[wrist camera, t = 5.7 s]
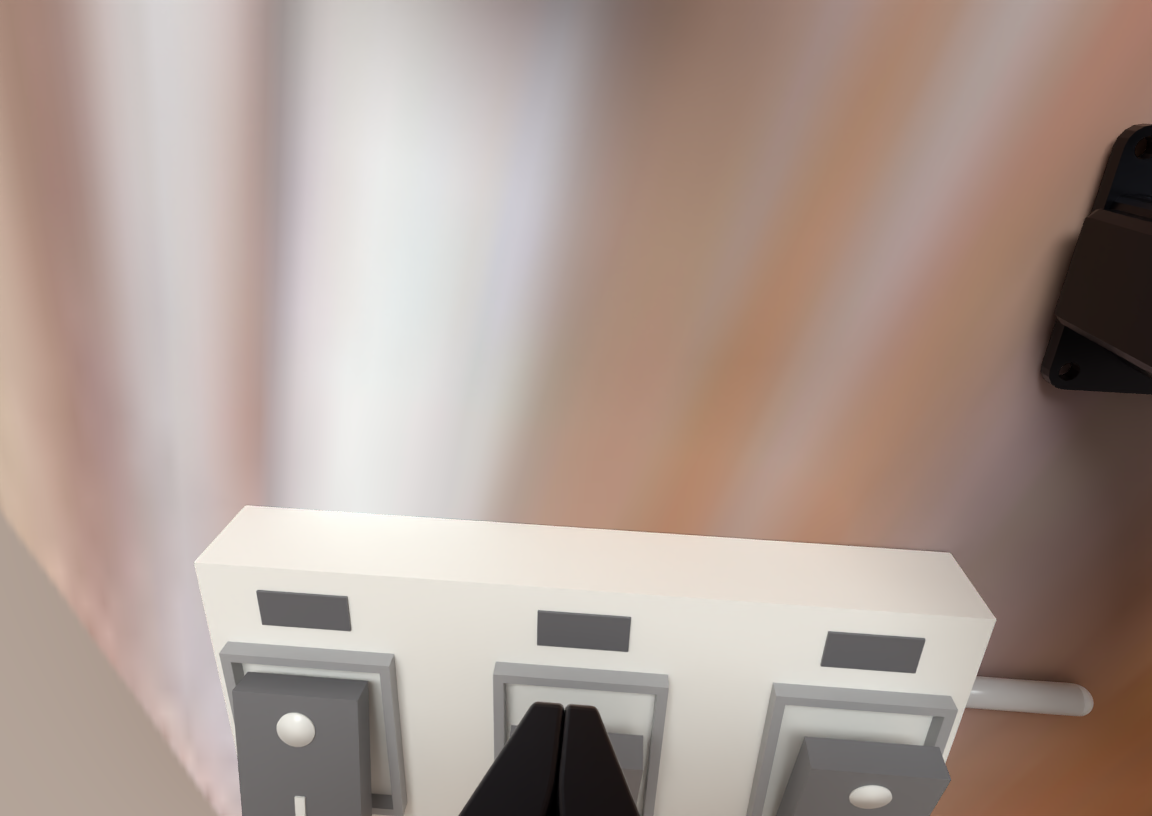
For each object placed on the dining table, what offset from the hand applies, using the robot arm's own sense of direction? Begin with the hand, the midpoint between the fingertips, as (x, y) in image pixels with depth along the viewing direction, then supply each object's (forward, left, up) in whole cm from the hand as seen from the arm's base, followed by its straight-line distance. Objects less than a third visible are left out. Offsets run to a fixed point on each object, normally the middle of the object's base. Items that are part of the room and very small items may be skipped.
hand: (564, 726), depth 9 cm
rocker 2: (-8, +11, -8) cm, 16 cm away
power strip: (-3, +10, -12) cm, 16 cm away
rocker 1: (+8, +11, -8) cm, 16 cm away
